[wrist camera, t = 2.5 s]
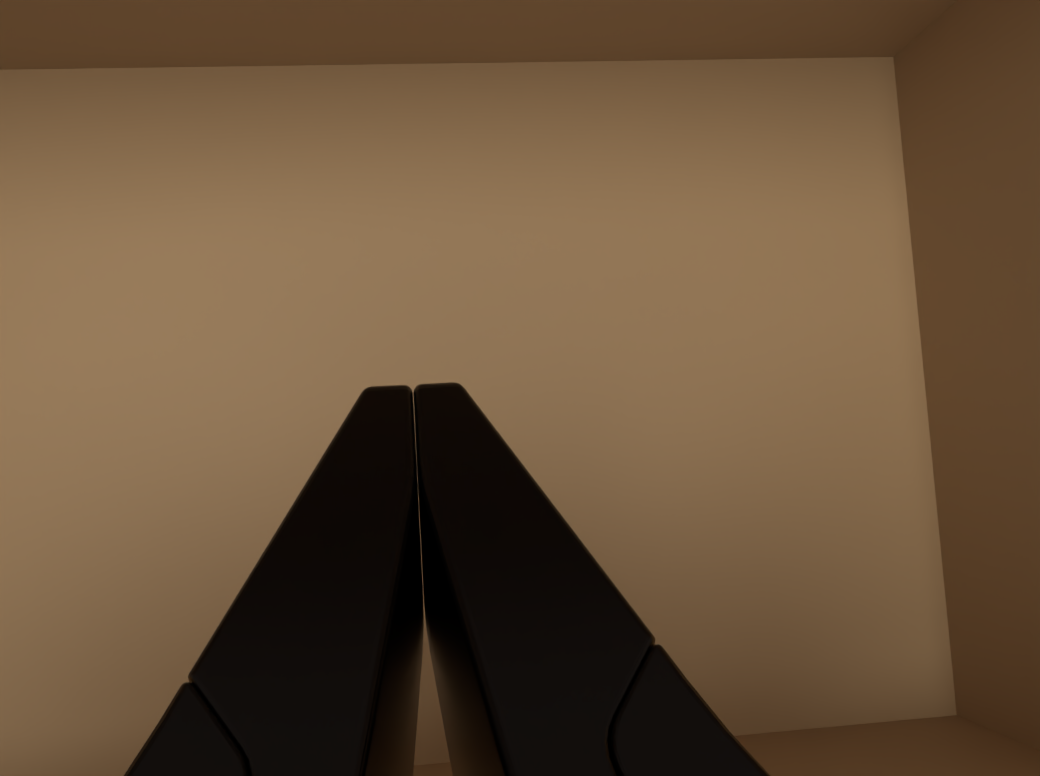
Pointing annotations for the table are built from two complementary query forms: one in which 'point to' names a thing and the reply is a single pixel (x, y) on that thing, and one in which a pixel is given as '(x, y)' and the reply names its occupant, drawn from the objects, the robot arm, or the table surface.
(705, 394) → the carton
